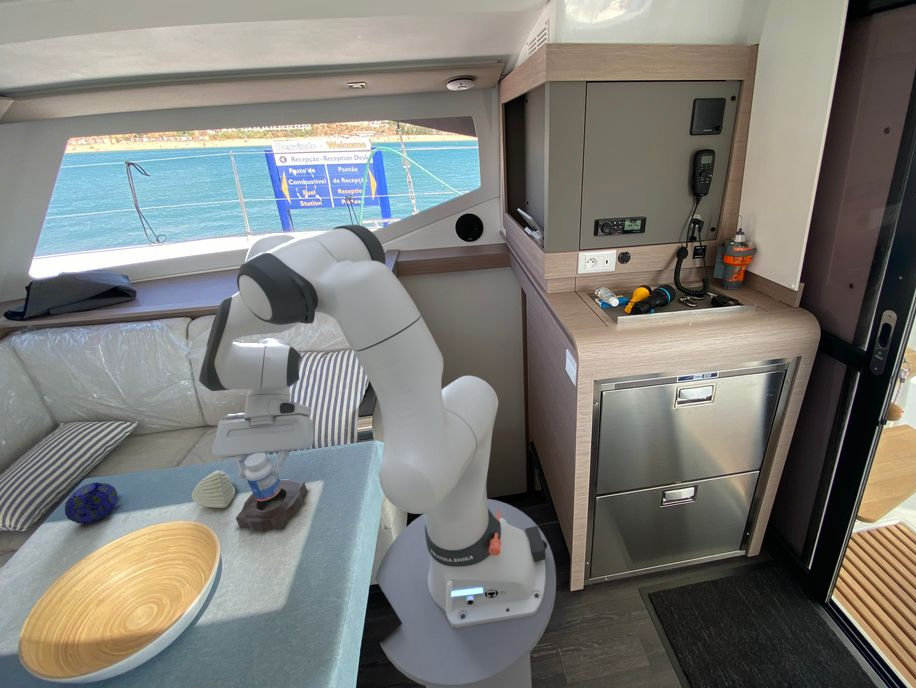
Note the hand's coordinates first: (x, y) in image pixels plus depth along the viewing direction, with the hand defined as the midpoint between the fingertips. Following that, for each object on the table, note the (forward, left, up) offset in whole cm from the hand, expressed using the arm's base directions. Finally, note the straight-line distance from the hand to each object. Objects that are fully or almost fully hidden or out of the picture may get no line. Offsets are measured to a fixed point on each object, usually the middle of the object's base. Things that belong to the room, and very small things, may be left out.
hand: (260, 475), depth 89 cm
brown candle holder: (0, -1, -11) cm, 11 cm away
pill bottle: (0, -1, -6) cm, 6 cm away
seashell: (+16, -3, -11) cm, 20 cm away
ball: (+41, +2, -11) cm, 43 cm away
